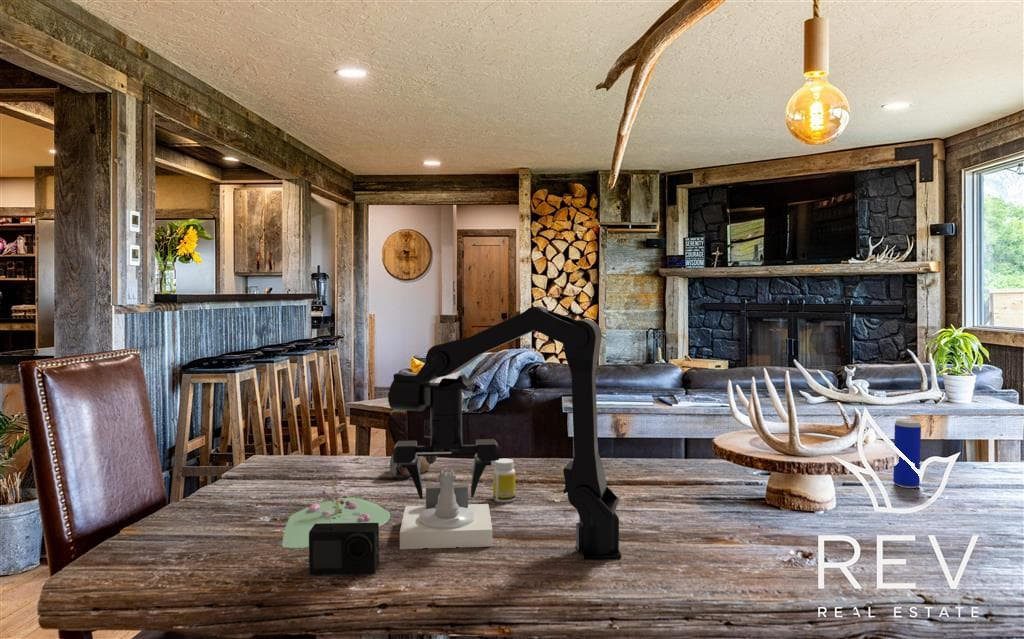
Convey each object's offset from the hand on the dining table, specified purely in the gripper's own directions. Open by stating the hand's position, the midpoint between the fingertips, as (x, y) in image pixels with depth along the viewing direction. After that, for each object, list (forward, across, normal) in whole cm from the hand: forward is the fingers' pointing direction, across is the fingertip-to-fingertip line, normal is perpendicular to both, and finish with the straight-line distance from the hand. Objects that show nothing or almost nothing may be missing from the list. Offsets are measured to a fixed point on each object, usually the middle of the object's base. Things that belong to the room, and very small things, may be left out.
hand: (446, 497), depth 123 cm
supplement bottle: (+7, -12, -20) cm, 24 cm away
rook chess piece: (+3, 0, 0) cm, 3 cm away
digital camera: (+7, +16, +14) cm, 23 cm away
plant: (+8, +22, -8) cm, 25 cm away
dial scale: (+7, 0, -1) cm, 7 cm away
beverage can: (+7, -104, -22) cm, 106 cm away
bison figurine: (+7, +9, -42) cm, 43 cm away
